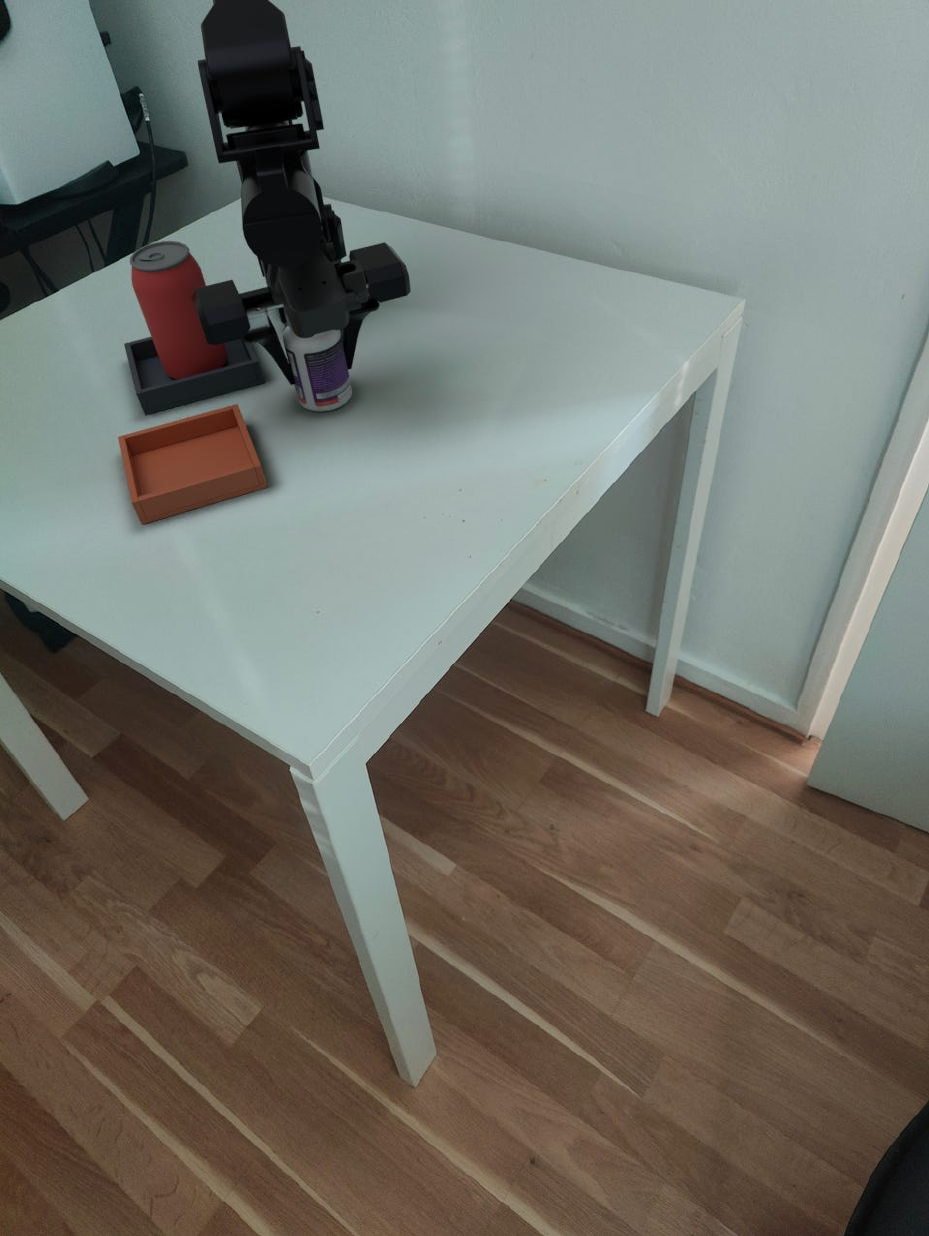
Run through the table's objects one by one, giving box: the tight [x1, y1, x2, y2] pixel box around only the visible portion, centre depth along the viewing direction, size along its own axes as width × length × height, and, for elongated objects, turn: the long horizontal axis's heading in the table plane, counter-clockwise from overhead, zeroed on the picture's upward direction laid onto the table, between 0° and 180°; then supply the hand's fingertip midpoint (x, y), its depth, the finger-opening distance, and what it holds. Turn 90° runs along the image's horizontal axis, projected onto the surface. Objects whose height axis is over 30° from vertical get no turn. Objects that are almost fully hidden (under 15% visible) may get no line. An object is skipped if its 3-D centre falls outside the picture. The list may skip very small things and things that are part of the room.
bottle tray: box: [117, 403, 269, 525], centre depth 78 cm, size 11×10×2 cm
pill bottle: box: [282, 309, 353, 412], centre depth 82 cm, size 5×5×10 cm
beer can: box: [129, 240, 227, 380], centre depth 85 cm, size 7×7×12 cm
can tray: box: [123, 336, 266, 416], centre depth 89 cm, size 12×10×2 cm
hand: (320, 375), depth 83 cm, fingers closed on pill bottle, 5 cm apart
